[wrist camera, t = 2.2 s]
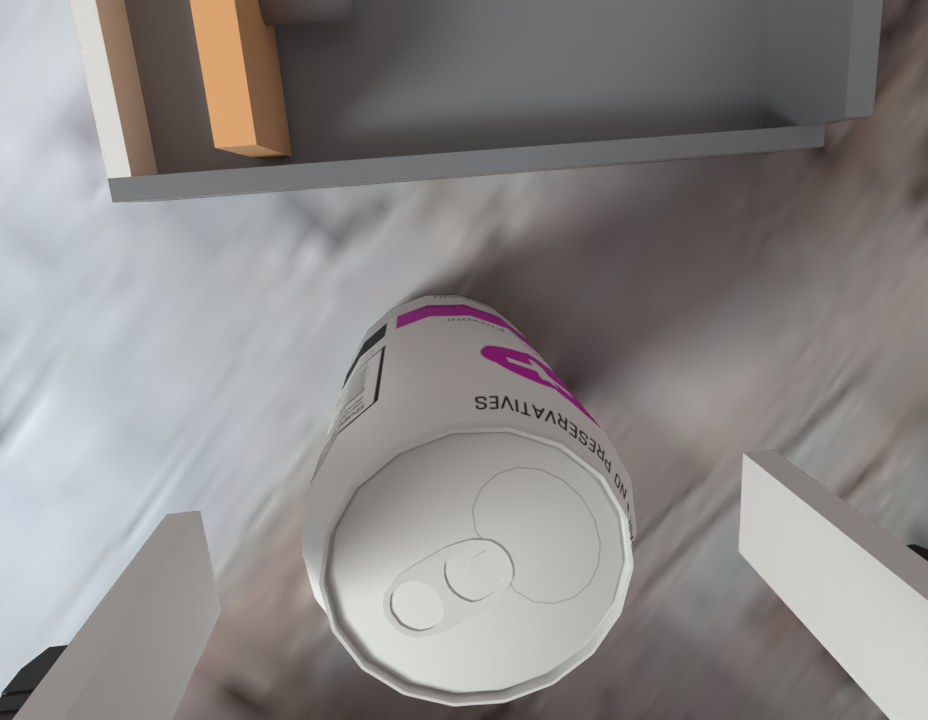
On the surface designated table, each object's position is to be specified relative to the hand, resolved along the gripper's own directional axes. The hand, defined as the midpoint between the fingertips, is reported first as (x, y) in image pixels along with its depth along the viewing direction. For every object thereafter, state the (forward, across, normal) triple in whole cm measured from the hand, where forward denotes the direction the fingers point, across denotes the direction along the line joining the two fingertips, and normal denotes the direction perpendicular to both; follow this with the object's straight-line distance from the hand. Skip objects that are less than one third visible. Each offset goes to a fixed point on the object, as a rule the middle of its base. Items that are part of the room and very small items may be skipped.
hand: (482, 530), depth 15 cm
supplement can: (+14, 0, 0) cm, 14 cm away
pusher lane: (+14, -2, -15) cm, 20 cm away
